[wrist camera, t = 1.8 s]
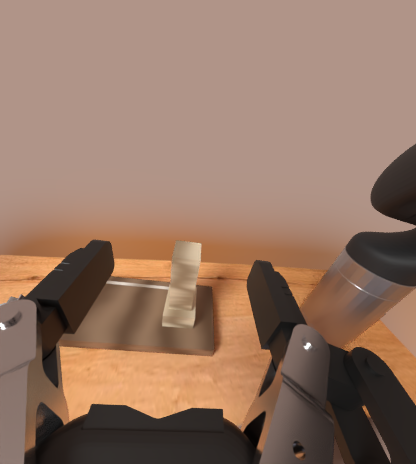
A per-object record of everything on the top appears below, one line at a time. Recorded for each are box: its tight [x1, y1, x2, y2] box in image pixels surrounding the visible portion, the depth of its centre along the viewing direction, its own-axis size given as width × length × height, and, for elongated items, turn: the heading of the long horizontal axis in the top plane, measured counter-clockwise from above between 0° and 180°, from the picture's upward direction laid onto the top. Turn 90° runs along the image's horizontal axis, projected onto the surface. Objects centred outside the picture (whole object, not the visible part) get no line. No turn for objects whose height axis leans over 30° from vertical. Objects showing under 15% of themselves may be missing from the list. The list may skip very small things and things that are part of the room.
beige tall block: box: [162, 241, 201, 329], centre depth 27 cm, size 5×7×14 cm
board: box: [58, 276, 214, 356], centre depth 31 cm, size 26×12×2 cm, turn 90°
